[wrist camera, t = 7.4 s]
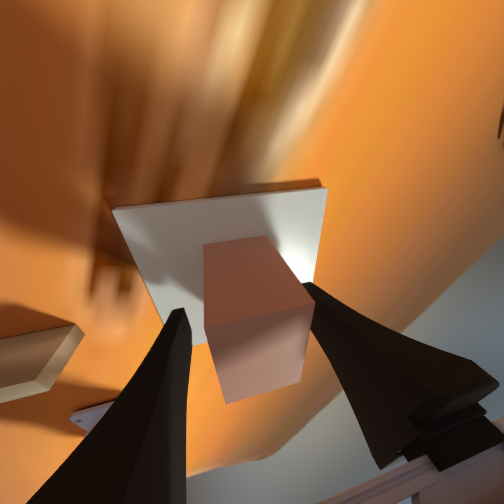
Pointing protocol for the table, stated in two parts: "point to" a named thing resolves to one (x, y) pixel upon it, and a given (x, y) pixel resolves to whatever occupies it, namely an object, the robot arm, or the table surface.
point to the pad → (217, 240)
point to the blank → (254, 317)
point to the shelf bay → (35, 360)
